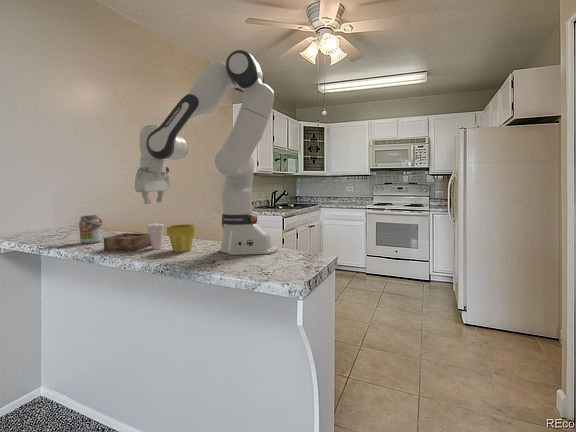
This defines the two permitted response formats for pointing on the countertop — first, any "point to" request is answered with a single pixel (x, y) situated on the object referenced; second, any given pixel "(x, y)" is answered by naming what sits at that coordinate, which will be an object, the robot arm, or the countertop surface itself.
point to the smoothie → (156, 234)
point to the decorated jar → (90, 229)
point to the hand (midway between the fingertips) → (153, 203)
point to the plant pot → (181, 236)
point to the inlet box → (127, 242)
